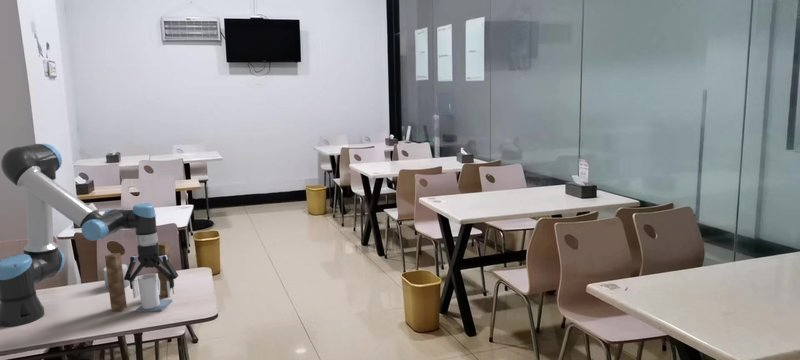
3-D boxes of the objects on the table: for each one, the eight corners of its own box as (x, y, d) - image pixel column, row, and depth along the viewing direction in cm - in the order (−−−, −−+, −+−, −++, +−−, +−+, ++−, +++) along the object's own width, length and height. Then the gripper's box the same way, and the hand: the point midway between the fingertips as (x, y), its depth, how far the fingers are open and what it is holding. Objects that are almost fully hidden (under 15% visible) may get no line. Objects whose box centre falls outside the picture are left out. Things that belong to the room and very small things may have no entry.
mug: (152, 309, 222) (148, 279, 220) (137, 309, 224) (133, 279, 222) (169, 299, 232) (165, 270, 230) (154, 299, 234) (150, 270, 232)
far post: (160, 297, 238) (154, 245, 234) (164, 293, 242) (159, 242, 238) (170, 296, 238) (164, 245, 234) (173, 293, 242) (168, 242, 238)
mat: (135, 311, 223) (135, 309, 223) (147, 301, 233) (147, 300, 233) (161, 311, 223) (161, 309, 223) (172, 301, 233) (172, 299, 233)
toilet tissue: (126, 279, 262) (124, 260, 260) (130, 287, 251) (128, 268, 249) (104, 283, 257) (101, 264, 256) (107, 291, 246) (104, 272, 245)
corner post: (111, 311, 225) (104, 256, 221) (116, 307, 229) (110, 253, 225) (121, 311, 225) (115, 256, 221) (126, 307, 228) (120, 253, 225)
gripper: (110, 247, 220) (117, 300, 224) (175, 245, 220) (181, 299, 223) (120, 241, 228) (126, 293, 231) (183, 240, 227) (188, 292, 231)
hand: (153, 296), depth 227 cm, fingers open, 13 cm apart
